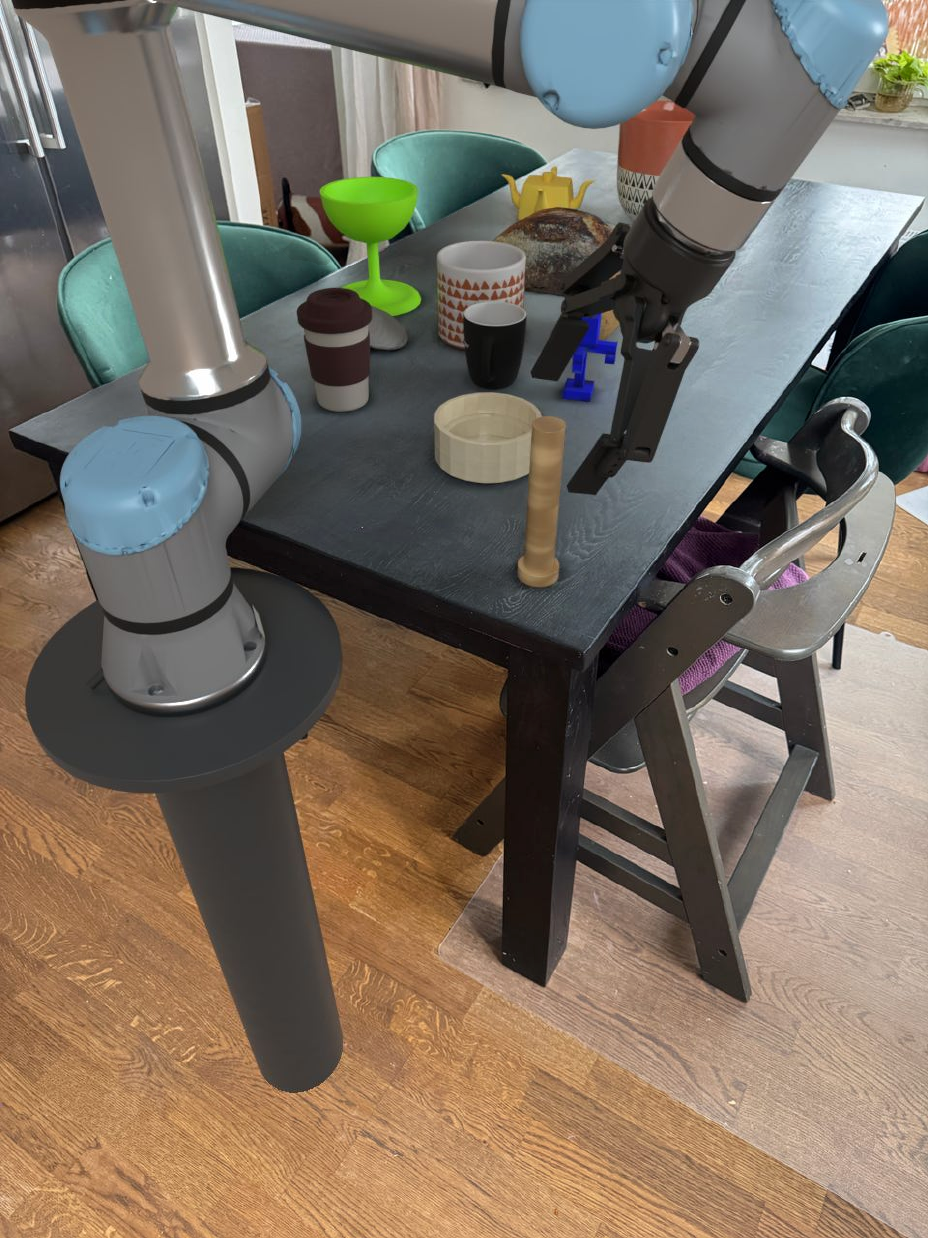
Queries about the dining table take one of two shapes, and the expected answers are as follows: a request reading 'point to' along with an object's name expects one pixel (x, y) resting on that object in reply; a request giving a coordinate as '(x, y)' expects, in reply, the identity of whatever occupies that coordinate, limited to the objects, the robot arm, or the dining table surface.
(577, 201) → the teapot
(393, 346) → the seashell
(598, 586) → the dining table surface
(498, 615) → the dining table surface
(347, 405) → the coffee cup
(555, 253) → the bread
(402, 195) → the wineglass
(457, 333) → the white patterned cup
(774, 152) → the robot arm
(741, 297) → the dining table surface
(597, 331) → the figurine
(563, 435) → the wooden pestle
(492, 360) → the mug
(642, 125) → the planter
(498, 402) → the bowl
